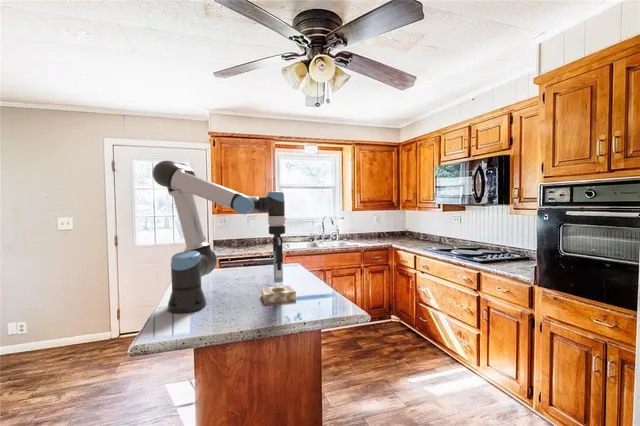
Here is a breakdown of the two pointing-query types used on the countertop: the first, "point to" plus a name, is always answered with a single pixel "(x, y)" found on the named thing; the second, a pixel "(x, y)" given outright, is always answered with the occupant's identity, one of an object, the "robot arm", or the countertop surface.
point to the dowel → (278, 279)
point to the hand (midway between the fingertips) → (278, 275)
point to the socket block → (278, 294)
